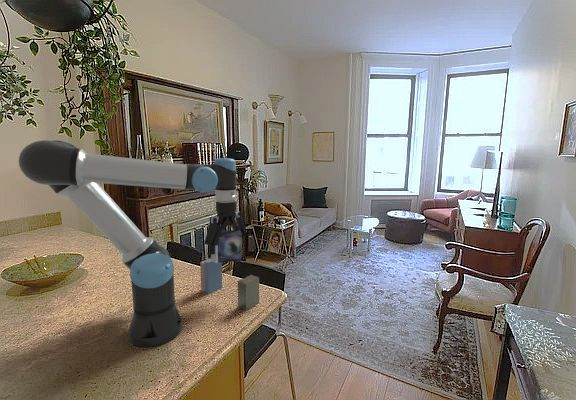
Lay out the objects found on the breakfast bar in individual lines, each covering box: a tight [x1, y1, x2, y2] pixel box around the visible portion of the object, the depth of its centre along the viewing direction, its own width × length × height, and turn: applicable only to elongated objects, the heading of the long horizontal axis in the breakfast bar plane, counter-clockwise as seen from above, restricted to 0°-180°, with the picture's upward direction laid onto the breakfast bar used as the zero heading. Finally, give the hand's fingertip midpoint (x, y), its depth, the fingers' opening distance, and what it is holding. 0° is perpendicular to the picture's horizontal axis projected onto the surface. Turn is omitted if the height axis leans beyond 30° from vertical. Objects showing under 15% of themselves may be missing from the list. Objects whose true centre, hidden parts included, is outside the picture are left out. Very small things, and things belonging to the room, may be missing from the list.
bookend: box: [237, 274, 260, 312], centre depth 107 cm, size 7×4×10 cm, turn 145°
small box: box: [213, 229, 243, 263], centre depth 111 cm, size 11×6×10 cm, turn 105°
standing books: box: [199, 258, 223, 295], centre depth 119 cm, size 7×5×13 cm, turn 145°
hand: (227, 257), depth 112 cm, fingers closed on small box, 11 cm apart
